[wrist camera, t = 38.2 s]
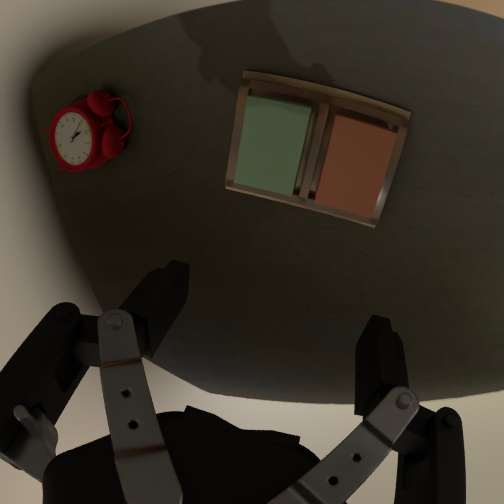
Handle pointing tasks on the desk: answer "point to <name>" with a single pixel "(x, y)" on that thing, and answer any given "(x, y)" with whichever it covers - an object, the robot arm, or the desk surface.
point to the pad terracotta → (354, 165)
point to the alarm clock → (87, 133)
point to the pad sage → (272, 143)
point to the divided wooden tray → (316, 136)
